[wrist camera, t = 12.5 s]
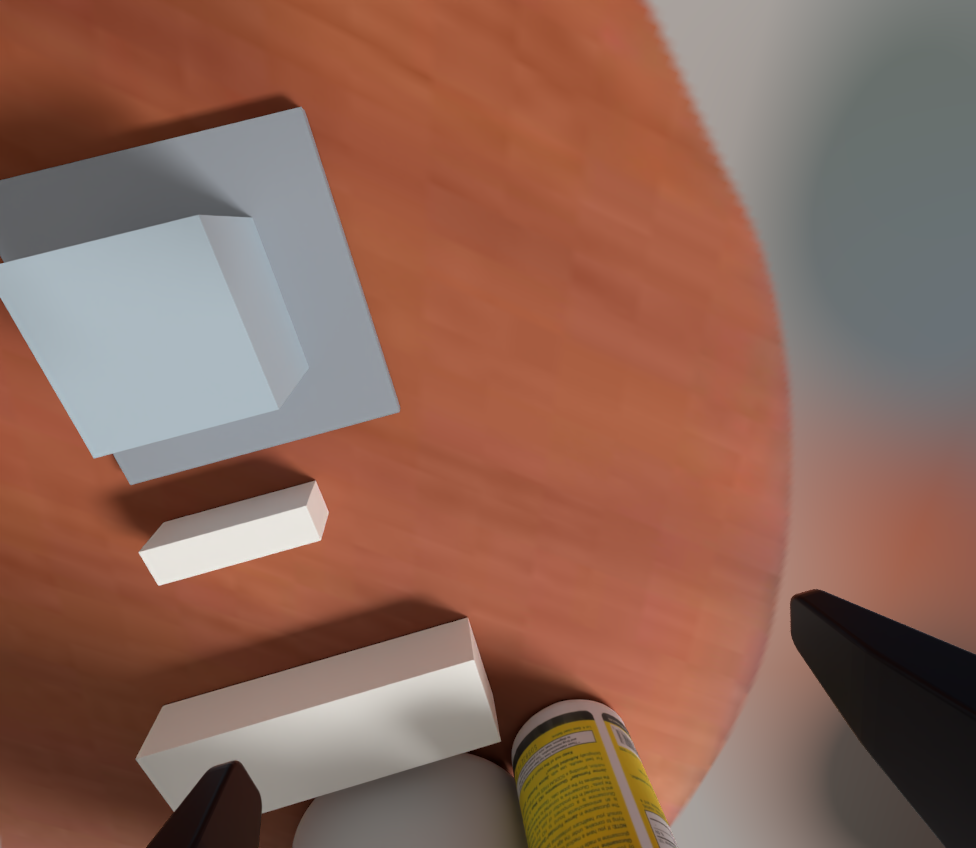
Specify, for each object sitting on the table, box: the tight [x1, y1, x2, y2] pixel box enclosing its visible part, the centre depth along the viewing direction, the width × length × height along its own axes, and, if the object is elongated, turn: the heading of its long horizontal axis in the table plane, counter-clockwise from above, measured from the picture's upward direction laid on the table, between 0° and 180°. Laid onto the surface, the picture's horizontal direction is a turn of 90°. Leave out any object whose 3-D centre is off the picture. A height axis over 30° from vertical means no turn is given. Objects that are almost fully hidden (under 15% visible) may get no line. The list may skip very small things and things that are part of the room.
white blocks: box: [136, 480, 501, 813], centre depth 22 cm, size 14×14×2 cm
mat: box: [0, 107, 400, 485], centre depth 17 cm, size 10×10×1 cm
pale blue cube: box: [0, 215, 309, 458], centre depth 15 cm, size 5×5×4 cm
